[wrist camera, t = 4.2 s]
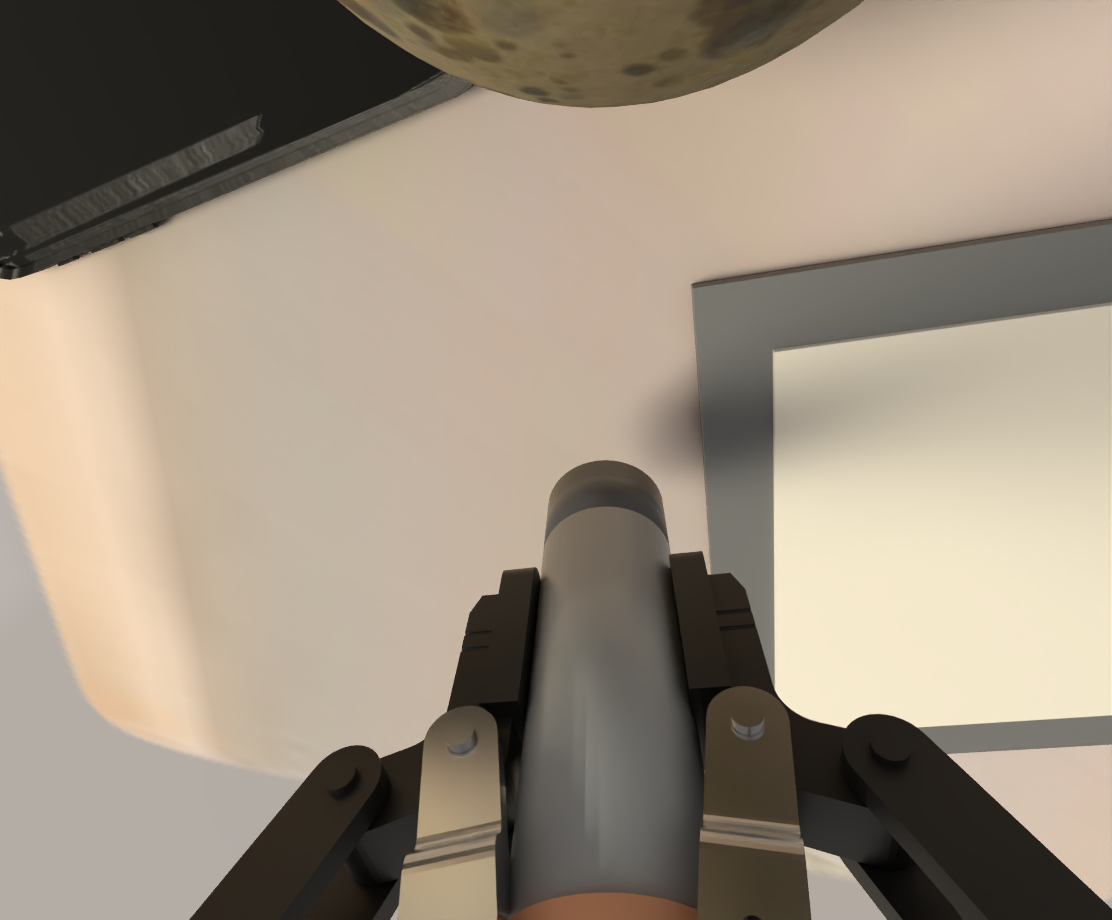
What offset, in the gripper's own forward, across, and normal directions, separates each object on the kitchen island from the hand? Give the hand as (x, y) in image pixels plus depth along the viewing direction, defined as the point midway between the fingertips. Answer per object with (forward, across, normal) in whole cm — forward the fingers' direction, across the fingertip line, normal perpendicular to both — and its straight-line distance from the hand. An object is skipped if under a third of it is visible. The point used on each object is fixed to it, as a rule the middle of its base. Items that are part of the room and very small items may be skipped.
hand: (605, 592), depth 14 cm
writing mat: (+6, -11, +5) cm, 14 cm away
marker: (+3, 0, 0) cm, 3 cm away
